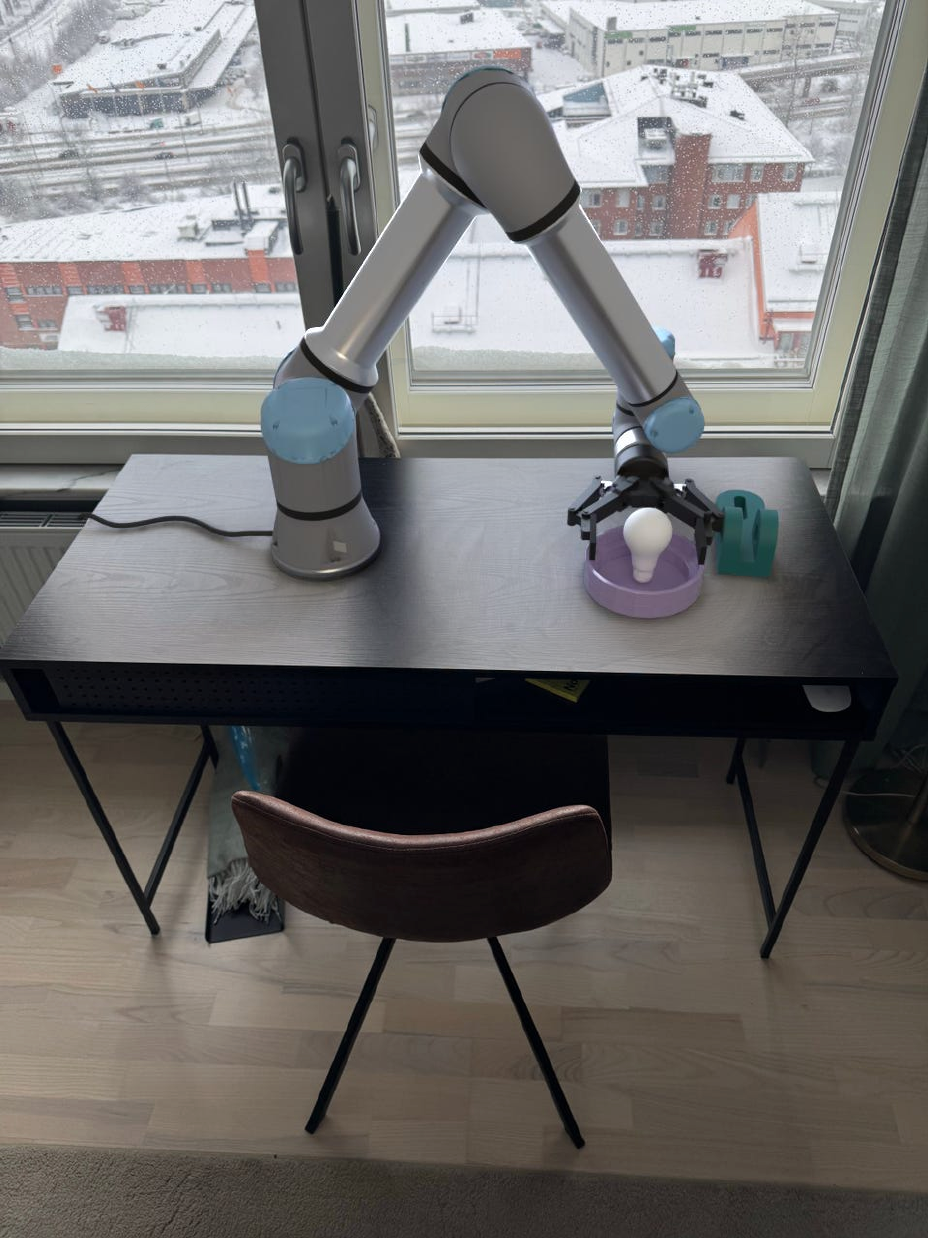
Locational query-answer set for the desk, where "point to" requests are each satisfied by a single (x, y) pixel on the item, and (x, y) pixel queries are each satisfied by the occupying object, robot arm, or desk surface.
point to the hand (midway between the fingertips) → (647, 554)
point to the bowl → (658, 597)
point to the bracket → (745, 535)
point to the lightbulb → (646, 540)
